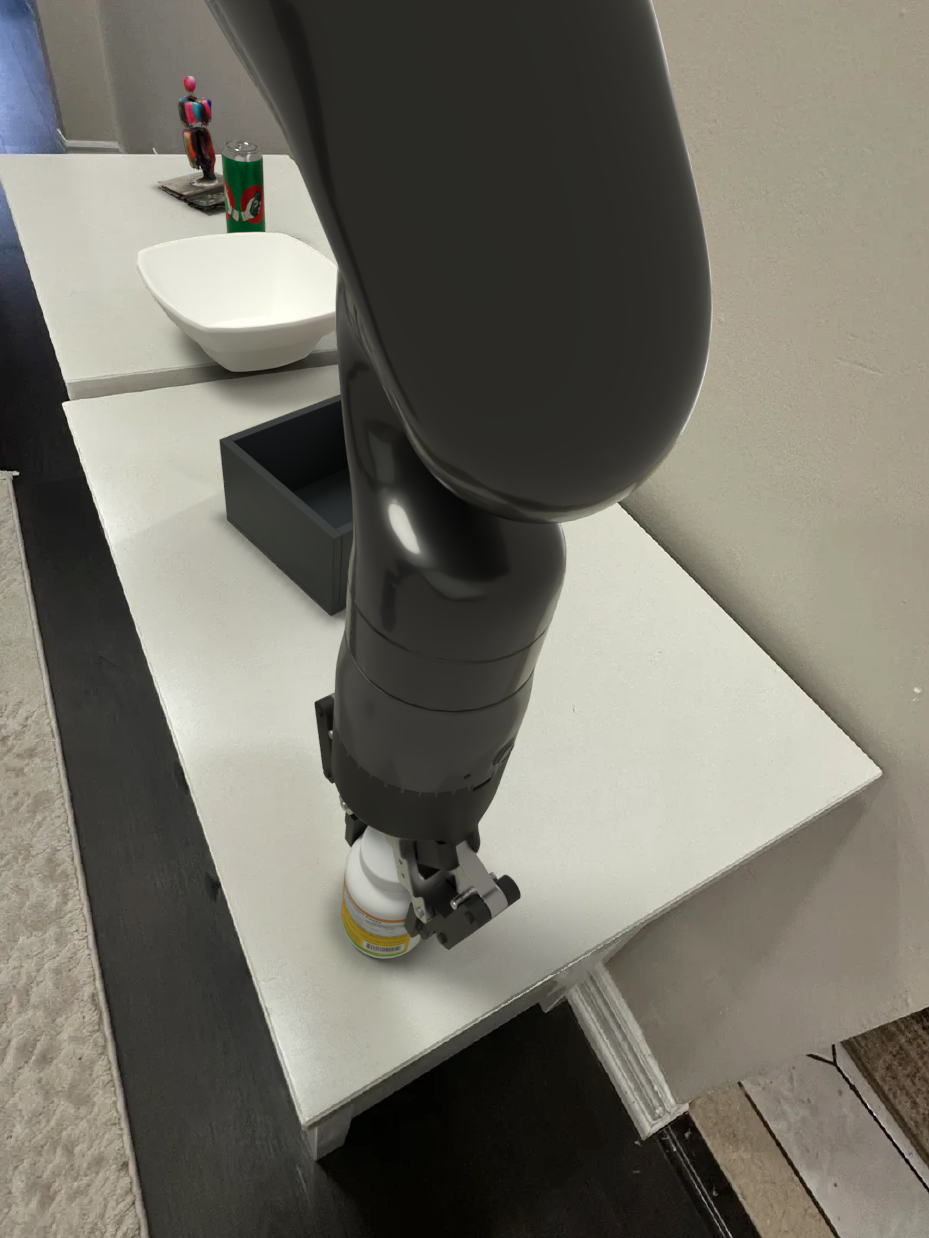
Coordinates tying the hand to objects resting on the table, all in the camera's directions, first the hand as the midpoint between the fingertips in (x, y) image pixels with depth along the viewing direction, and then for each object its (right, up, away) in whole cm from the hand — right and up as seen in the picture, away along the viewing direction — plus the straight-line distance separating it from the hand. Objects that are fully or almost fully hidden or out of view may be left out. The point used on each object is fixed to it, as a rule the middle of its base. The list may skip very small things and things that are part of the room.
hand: (392, 878), depth 43 cm
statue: (-34, +77, +70) cm, 110 cm away
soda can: (-26, +66, +62) cm, 94 cm away
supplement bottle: (-1, -4, +4) cm, 6 cm away
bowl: (-20, +45, +44) cm, 66 cm away
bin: (-7, +22, +26) cm, 35 cm away
